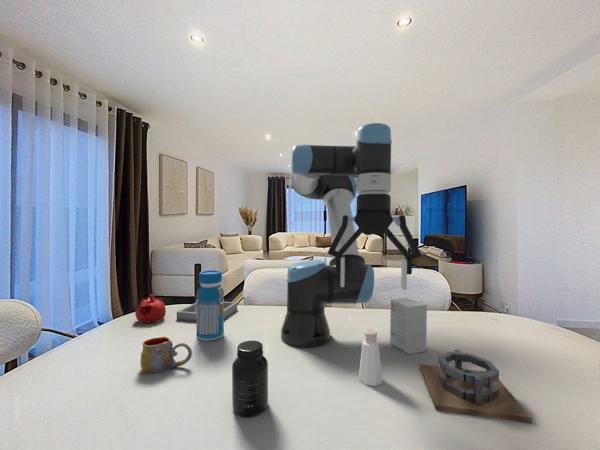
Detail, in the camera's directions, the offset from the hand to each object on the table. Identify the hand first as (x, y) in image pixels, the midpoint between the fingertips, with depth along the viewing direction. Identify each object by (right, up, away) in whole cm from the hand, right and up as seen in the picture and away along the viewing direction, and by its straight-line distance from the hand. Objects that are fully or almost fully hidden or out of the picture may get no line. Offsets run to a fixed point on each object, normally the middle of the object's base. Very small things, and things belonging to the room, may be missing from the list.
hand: (372, 287), depth 65 cm
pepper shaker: (-1, -21, 0) cm, 21 cm away
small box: (+14, -21, +17) cm, 31 cm away
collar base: (+19, -21, -4) cm, 29 cm away
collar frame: (+19, -21, -4) cm, 29 cm away
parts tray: (-51, -20, +44) cm, 70 cm away
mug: (-49, -21, +5) cm, 54 cm away
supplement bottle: (-26, -21, -10) cm, 35 cm away
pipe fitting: (-52, -19, +44) cm, 70 cm away
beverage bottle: (-44, -21, +24) cm, 54 cm away
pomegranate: (-70, -20, +38) cm, 82 cm away
